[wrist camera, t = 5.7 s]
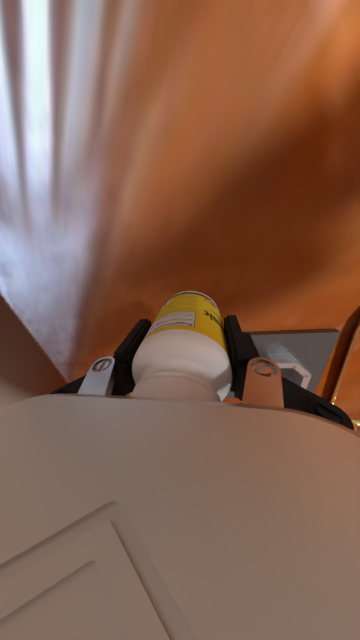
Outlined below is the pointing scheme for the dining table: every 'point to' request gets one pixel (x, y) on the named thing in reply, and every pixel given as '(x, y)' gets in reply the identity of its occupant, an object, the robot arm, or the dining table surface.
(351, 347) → the gold oval ring
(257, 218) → the dining table surface
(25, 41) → the dining table surface
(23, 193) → the dining table surface
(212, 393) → the supplement bottle
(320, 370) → the dock
